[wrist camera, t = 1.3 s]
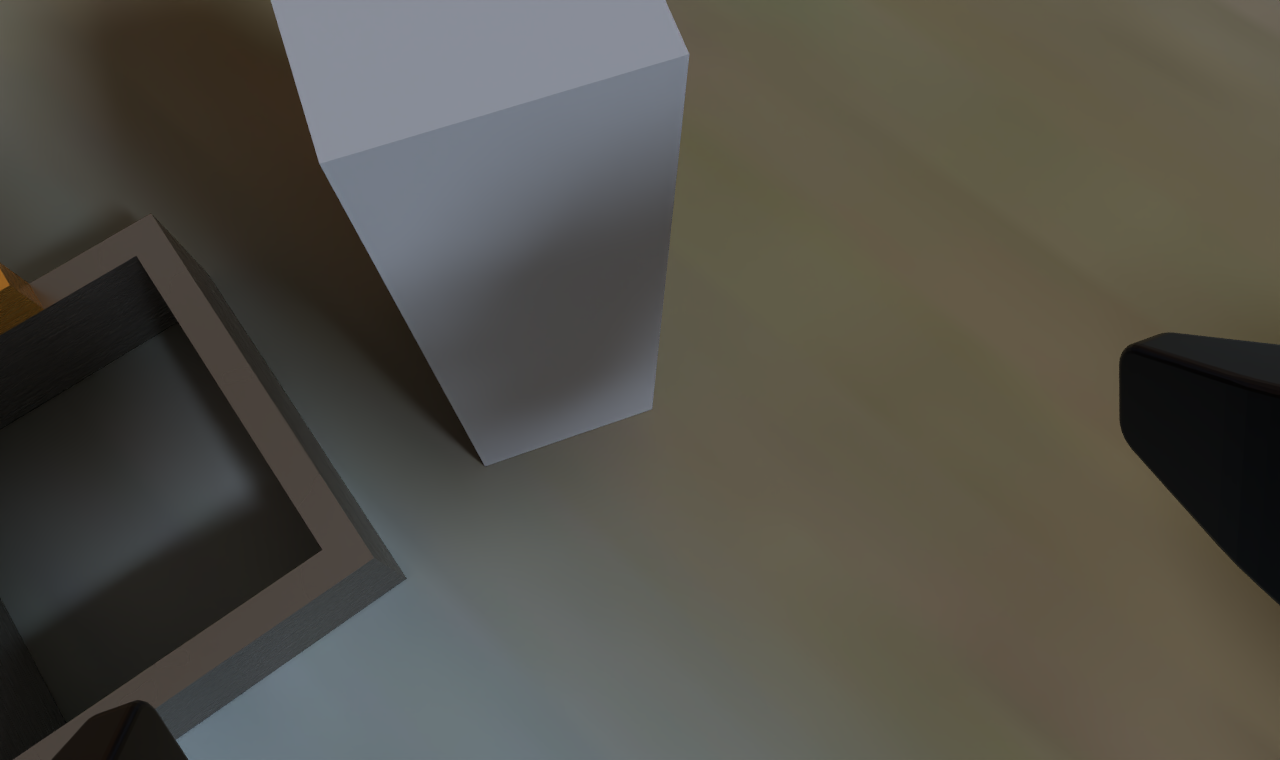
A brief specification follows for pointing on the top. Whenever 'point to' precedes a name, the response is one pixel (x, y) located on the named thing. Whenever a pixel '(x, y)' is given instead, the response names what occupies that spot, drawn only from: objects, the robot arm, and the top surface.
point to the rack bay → (351, 548)
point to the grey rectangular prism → (507, 191)
